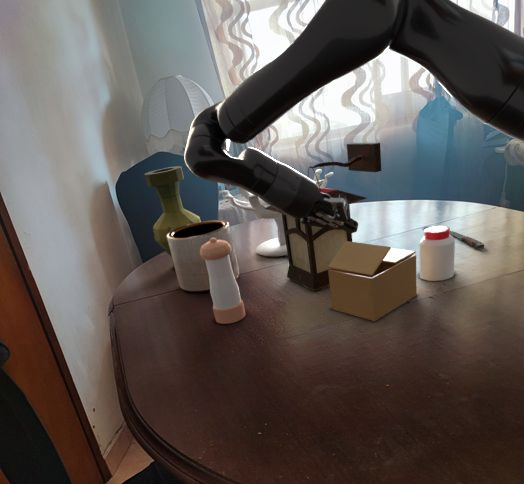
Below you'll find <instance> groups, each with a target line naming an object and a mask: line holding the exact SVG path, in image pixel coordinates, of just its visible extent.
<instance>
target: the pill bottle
mask: <svg viewBox="0 0 524 484" xmlns="http://www.w3.org/2000/svg"><path fill="white" fill-rule="evenodd" d="M429 227H430V228H427V229H424V230H423V234H424V235H423V237H422V238H421V239H420V240H419V243H418V247H419V248H418V249H419V250H418V251H419V253H418V255H419V257H418V258H419V262H418V263H419V265H418V266H419V278H420V279H422V280H425V281H427V282H428V281H429V282H440V281H446V280H450V279H451V278H453V277H454V275H455V254H456V253H455V252H456V251H455V250H456V239H455V237H454V236H453V235H450V231H451V229H450V227H448V226H444V225H437V226H429Z"/></svg>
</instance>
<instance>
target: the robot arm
mask: <svg viewBox="0 0 524 484" xmlns="http://www.w3.org/2000/svg"><path fill="white" fill-rule="evenodd" d="M388 50H389V51H391V52H393V53H395V54H398V55H400V56H401V57H404V58H406V59H407V60H410V61H411V62H413V63H416V64H417V65H419V66H420V67H421V68H423V69H424V70H425V71H427V73H429V74H430V75H431V76H432V77H433V78H434V79H435V80H436V81H437V83H438V84H440V86H441V87H442V88H443V89H444V90H445V91H446V92H447V93H448V94H449V95H450V97H451V98H452V99H453V100H454V101H455V102H456V103H457V104H458V105H459V106H460V107H461V108H462V109H463V110H464V111H465V112H466V113H467V114H469V115H470V116H471V117H473V118H474V119H476V120H477V121H478V122H481V123H482V124H484V125H487V126H488V127H490V128H492V129H494V130H495V131H498V132H500V133H501V134H502V135H505V136H507V137H508V138H512V139H514V140H515V141H518V142H521V143H523V144H524V36H522V35H519V34H517V33H515V32H513V31H511V30H510V29H508V28H506V27H504V26H502V25H500V24H498V23H496V22H494V21H492V20H490V19H488V18H486V17H484V16H482V15H480V14H477V13H475V12H473V11H470V10H469V9H467V8H465V7H463V6H461V5H459V4H457V3H455V2H454V1H452V0H324V2H323V3H322V4H321V6H320V7H319V9H318V10H317V12H315V14H314V15H313V16H312V18H311V19H310V21H309V22H308V23H307V25H306V26H305V27H304V28H303V29H302V31H301V32H300V34H299V35H298V36H297V37H296V38H295V39H294V40H293V42H291V43H290V44H289V45H288V46H287V47H286V48H285V49H284V50H283V51H282V52H281V53H280V54H278V55H277V56H276V57H275V58H273V59H272V60H270V61H269V62H268V63H266V64H264V65H262V66H261V67H260V68H258V69H257V70H256V71H254V72H253V73H252V74H251V75H249V76H248V77H246V79H244V80H243V81H242V82H241V83H239V85H238V86H236V88H235V89H233V91H232V92H231V93H230V94H229V95H227V96H226V97H225V98H224V99H223V100H220V101H218V102H216V103H214V104H212V105H210V106H208V107H206V108H204V109H202V110H201V111H200V112H199V113H197V115H196V116H195V117H194V119H193V120H192V122H191V125H190V129H189V132H188V135H187V142H186V145H185V149H184V158H183V159H184V163H185V165H186V166H187V168H188V169H189V171H190V172H191V173H192V174H193V175H195V176H196V177H198V178H199V179H202V180H204V181H208V182H214V183H218V184H219V183H220V184H223V185H227V186H233V187H235V186H237V187H236V188H239V187H240V188H242V189H244V190H246V191H248V192H249V193H251V194H253V195H255V196H257V197H259V198H260V199H262V200H263V201H264V202H266V203H267V204H269V205H271V206H273V207H275V208H276V209H278V210H280V211H282V212H284V213H286V214H288V215H290V216H291V217H293V218H295V219H301V218H302V221H301V223H302V224H305V225H310V226H316V227H322V228H330V226H332V227H335V228H337V227H339V228H341V229H343V230H344V231H346V232H348V233H350V234H351V233H352V234H355V233H357V232H358V227H359V223H358V221H357V220H356V219H353V218H351V216H350V217H348V215H349V211H350V212H351V207H350V208H349V205H350V204H349V205H348V202H347V199H346V196H345V195H344V194H340V195H339V198H331V196H330V195H328V194H325V193H322V192H320V190H319V188H318V185H317V183H316V182H314V181H313V180H314V179H311V178H310V177H309V176H307V175H304V174H303V173H301V172H299V171H298V170H296V169H294V168H292V166H289V165H287V164H285V163H283V162H280V161H279V160H276V159H274V158H273V157H271V156H270V155H268V154H266V153H265V152H263V151H261V150H259V149H257V148H256V147H255V148H254V147H252V146H249V147H245V148H244V149H242V151H241V152H240V154H239V155H238V156H237V157H233V156H231V155H230V154H229V153H230V147H231V143H233V144H236V145H244V144H247V143H250V142H251V141H253V140H254V139H256V137H258V136H259V135H260V134H262V133H263V132H264V131H266V130H267V129H268V128H269V127H271V126H272V125H274V124H275V123H276V122H277V121H278V120H280V119H281V118H282V117H283V116H284V115H286V114H287V113H288V112H290V111H291V110H292V109H293V108H295V107H296V106H297V105H299V104H300V103H301V102H302V101H303V100H306V99H307V98H308V97H309V96H311V95H312V94H314V93H316V92H318V91H319V90H320V89H322V88H324V87H325V86H328V85H329V84H331V83H333V82H334V81H336V80H339V79H340V78H342V77H344V76H347V75H349V74H350V73H352V72H354V71H356V70H358V69H360V68H361V67H364V66H365V65H367V64H369V63H371V62H373V61H375V60H377V59H378V58H379V57H380V56H382V55H383V54H384V53H385V52H386V51H388Z"/></svg>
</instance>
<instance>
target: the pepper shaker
mask: <svg viewBox="0 0 524 484" xmlns="http://www.w3.org/2000/svg"><path fill="white" fill-rule="evenodd" d="M230 252H231V246H230V244H229V243H228V242H227V241H224V240H217V239H216V238H211V239H210V241H209V242H207V243H205V244H204V245H203V246H202V247H201V249H200V255H201V257H202V258H203V259H205V261H206V265H207V270H208V274H209V282H210V291H209V294H210V296H211V300H212V303H213V305H212V310H213V311H212V312H213V315H214V319H215V322H216V323H217V324H223V325H227V324H234V323H237V322H239V321H241V320H243V319H244V318H245V317H246V309H245V305H244V301H243V299H242V298H241V293H240V292H241V291H240V287H239V284H238V282H237V279H235V277H234V274H233V271H232V266H231V262H230V257H229V254H230Z"/></svg>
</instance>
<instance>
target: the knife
mask: <svg viewBox="0 0 524 484" xmlns="http://www.w3.org/2000/svg"><path fill="white" fill-rule="evenodd" d="M430 227H431V226H426V227H424V230H425V229H427V228H430ZM450 235H451V236H452V237H456V238H457V239H458V241H462V242H465V243H467V245H469V246H471V247H475V249H483V248H485V244H484V243H483V242H481V241H479V240H477V239H475V238H472V237H470V236H467V235H463V234H461V233H459V232H456V231H452V230H450Z"/></svg>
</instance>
